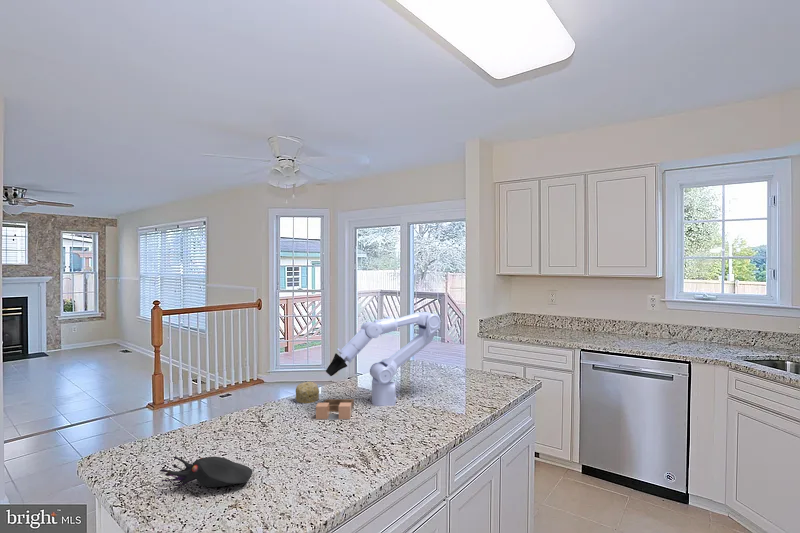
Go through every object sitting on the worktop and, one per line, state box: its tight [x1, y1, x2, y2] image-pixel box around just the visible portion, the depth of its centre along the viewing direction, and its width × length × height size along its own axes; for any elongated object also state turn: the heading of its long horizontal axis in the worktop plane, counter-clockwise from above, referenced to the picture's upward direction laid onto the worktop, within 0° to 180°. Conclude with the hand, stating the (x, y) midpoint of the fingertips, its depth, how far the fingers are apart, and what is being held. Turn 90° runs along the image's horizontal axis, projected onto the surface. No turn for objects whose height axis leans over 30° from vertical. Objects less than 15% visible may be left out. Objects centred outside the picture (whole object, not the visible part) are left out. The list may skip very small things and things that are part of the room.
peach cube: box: [338, 403, 353, 420], centre depth 151 cm, size 4×4×4 cm
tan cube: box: [315, 402, 330, 420], centre depth 151 cm, size 4×4×4 cm
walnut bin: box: [323, 398, 355, 413], centre depth 160 cm, size 11×7×3 cm, turn 89°
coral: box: [295, 380, 320, 404], centre depth 170 cm, size 9×9×8 cm
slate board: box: [315, 413, 351, 421], centre depth 151 cm, size 12×6×1 cm, turn 89°
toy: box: [159, 456, 253, 488], centre depth 108 cm, size 10×21×10 cm, turn 95°
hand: (328, 374), depth 157 cm, fingers open, 7 cm apart
